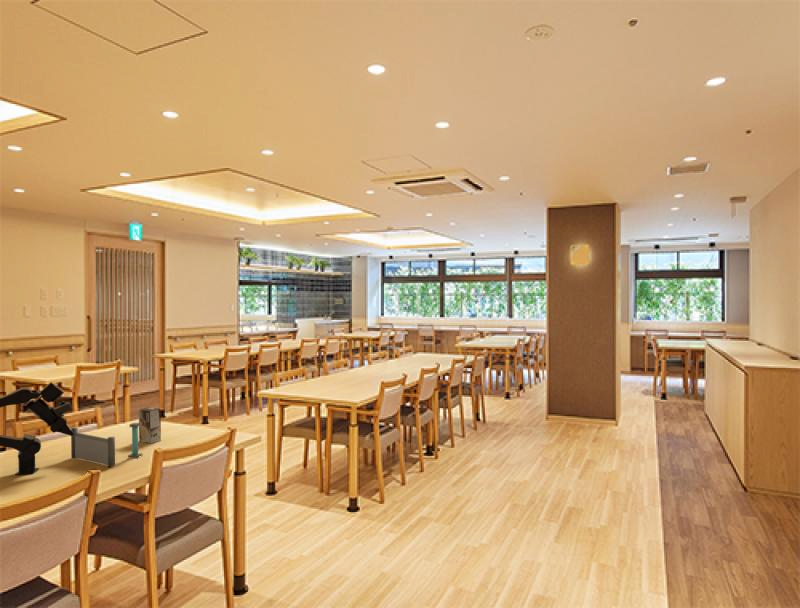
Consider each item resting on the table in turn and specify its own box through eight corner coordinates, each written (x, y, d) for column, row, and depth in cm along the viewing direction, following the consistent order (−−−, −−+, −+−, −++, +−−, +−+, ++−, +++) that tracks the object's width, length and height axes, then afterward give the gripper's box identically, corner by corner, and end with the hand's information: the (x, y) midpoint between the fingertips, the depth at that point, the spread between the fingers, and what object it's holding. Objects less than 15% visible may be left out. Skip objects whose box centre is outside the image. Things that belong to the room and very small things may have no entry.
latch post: (127, 457, 239) (127, 424, 239) (131, 455, 242) (131, 422, 242) (138, 457, 239) (138, 424, 238) (142, 455, 242) (142, 422, 242)
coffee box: (161, 440, 267) (161, 408, 267) (150, 443, 261) (150, 411, 261) (149, 438, 271) (149, 406, 271) (138, 441, 266) (137, 409, 265)
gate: (70, 457, 238) (69, 428, 237) (75, 455, 240) (75, 427, 240) (110, 466, 224) (110, 436, 224) (116, 465, 227) (116, 434, 227)
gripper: (61, 398, 218) (91, 423, 224) (58, 393, 233) (86, 417, 239) (37, 419, 213) (68, 444, 219) (36, 413, 228) (65, 436, 234)
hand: (72, 434), depth 228 cm, fingers closed
